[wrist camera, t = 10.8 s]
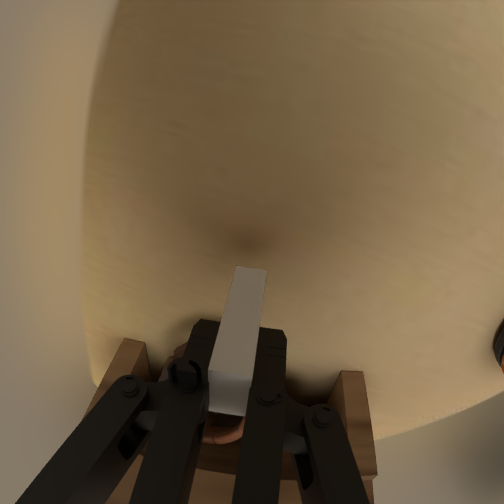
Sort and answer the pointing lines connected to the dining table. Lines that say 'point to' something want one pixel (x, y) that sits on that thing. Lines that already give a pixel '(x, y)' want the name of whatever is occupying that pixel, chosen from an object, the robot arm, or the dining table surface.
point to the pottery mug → (224, 425)
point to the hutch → (226, 455)
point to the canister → (500, 350)
